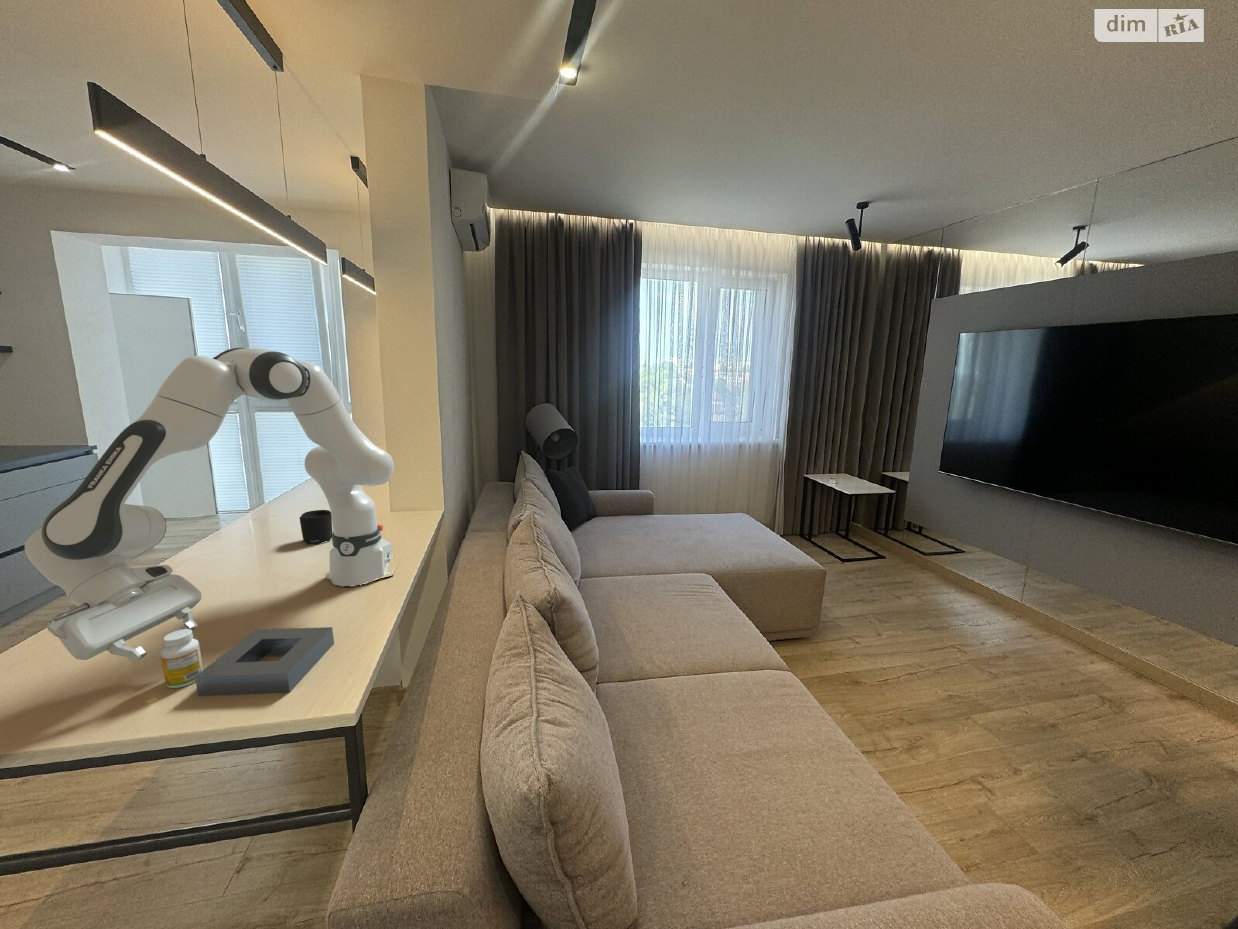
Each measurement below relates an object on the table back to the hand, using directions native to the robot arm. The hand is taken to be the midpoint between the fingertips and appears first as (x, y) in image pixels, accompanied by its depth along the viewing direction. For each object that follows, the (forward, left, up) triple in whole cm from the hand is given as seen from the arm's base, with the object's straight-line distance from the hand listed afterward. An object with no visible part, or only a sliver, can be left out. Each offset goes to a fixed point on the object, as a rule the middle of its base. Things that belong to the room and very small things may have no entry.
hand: (168, 643), depth 88 cm
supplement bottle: (0, +2, -8) cm, 8 cm away
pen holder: (-77, -14, -8) cm, 78 cm away
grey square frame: (-3, +16, -8) cm, 18 cm away
